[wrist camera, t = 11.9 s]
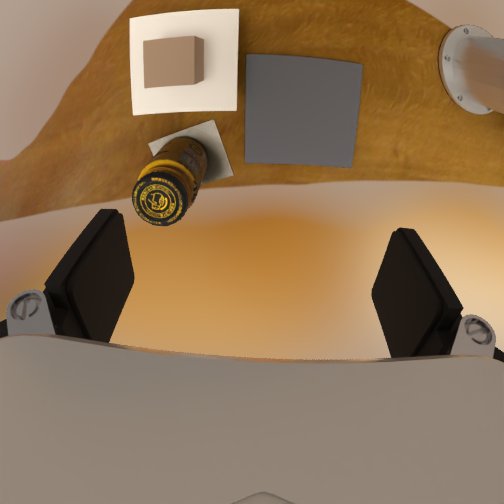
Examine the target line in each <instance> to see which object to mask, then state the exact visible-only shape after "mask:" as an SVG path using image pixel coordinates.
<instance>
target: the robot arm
mask: <svg viewBox="0 0 504 504" xmlns="http://www.w3.org/2000/svg"><path fill="white" fill-rule="evenodd" d="M439 70H440V75H441V79H442V82H443V85H444V87H445V89H446V91H447V93H448V94H449V96H450V97H451V98H452V100H453V101H454V102H455V103H456V104H457V105H458V106H460V107H461V108H462V109H464V110H466V111H468V112H471V113H474V114H480V115H483V114H488V113H490V112H492V111H497V112H499V113H502V114H504V39H499V38H494V37H493V36H492V35H491V34H489V33H488V32H487V31H485V30H484V29H482V28H480V27H477V26H474V25H460V26H457V27H455V28H453V29H451V30H450V31H449V32H448V33H447V34H446V36H445V37H444V39H443V41H442V44H441V47H440V51H439ZM133 284H134V271H133V266H132V262H131V257H130V252H129V247H128V242H127V236H126V230H125V225H124V219H123V215H122V214H121V213H119V212H118V210H116V209H101V210H100V211H99V212H98V213H97V214H96V215H95V217H94V218H93V219H92V220H91V221H90V223H89V224H88V225H87V226H86V228H85V229H84V230H83V231H82V233H81V234H80V235H79V237H78V238H77V239H76V241H75V242H74V243H73V244H72V246H71V247H70V249H69V250H68V251H67V252H66V254H65V255H64V257H63V258H62V259H61V261H60V262H59V263H58V265H57V266H56V268H55V269H54V270H53V272H52V273H51V275H50V276H49V278H48V279H47V281H46V282H45V286H46V288H45V290H44V291H43V293H42V292H41V291H39V290H35V289H34V290H26V291H23V292H21V293H20V294H18V295H17V296H15V297H14V298H13V299H12V300H11V302H10V303H9V304H8V307H7V310H6V318H7V319H5V320H3V321H1V322H0V504H504V352H502V351H501V350H499V349H498V348H496V347H495V342H496V336H495V333H494V330H493V329H492V327H491V326H490V325H489V323H488V322H486V321H485V320H484V319H482V318H481V317H478V316H476V315H466V316H465V317H462V315H461V314H460V313H461V311H462V310H463V307H462V304H461V303H460V301H459V299H458V297H457V296H456V294H455V292H454V291H453V289H452V287H451V285H450V284H449V282H448V281H447V279H446V277H445V276H444V274H443V272H442V271H441V269H440V268H439V266H438V264H437V263H436V261H435V259H434V258H433V256H432V255H431V253H430V252H429V250H428V249H427V247H426V246H425V244H424V243H423V241H422V240H421V238H420V237H419V235H418V234H417V233H416V231H415V230H414V229H408V228H398V229H397V230H396V231H394V232H393V233H392V235H391V238H390V241H389V244H388V247H387V250H386V252H385V255H384V258H383V261H382V264H381V267H380V269H379V272H378V275H377V277H376V280H375V283H374V285H373V288H372V300H373V303H374V306H375V309H376V311H377V314H378V317H379V320H380V323H381V326H382V329H383V332H384V336H385V339H386V342H387V345H388V348H389V351H390V355H391V358H379V359H349V360H348V359H347V360H303V359H266V358H246V357H229V356H217V355H204V354H192V353H183V352H174V351H164V350H156V349H148V348H141V347H133V346H127V345H120V344H113V343H109V341H110V338H111V336H112V333H113V331H114V329H115V326H116V324H117V321H118V319H119V316H120V314H121V312H122V309H123V307H124V304H125V302H126V300H127V297H128V295H129V293H130V291H131V288H132V286H133Z"/></svg>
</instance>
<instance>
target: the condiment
mask: <svg viewBox="0 0 504 504" xmlns="http://www.w3.org/2000/svg"><path fill="white" fill-rule="evenodd" d="M199 140H201V141H199ZM203 141H205V142H203ZM149 147H150V149H151V151H152V153H153V156H154V157H153V158H152V159H151V160H150V161H149V162H148V164H147V165H146V166H145V167H144V169H143V170H142V171H141V173H140V176H139V178H138V181H137V183H136V185H135V187H134V189H133V193H132V202H133V205H134V208H135V210H136V212H137V214H138V215H139V216H140V217H141V218H142V219H143V220H145V221H146V222H148V223H150V224H152V225H157V226H169V225H171V224H174V223H176V222H177V221H178V220H181V218H182V217H183V216H184V215H185V212H186V211H187V209H188V208H189V207H190V206H191V205H192V204H193V203H194V200H195V198H196V196H197V193H198V190H199V187H200V185H202V184H206V183H209V182H212V181H215V180H218V179H222V178H226V177H229V176H232V175H233V172H232V169H231V166H230V163H229V160H228V158H227V155H226V152H225V149H224V146H223V143H222V141H221V138H220V135H219V133H218V130H217V127H216V125H215V122H214V120H210V121H208V122H205V123H202V124H199V125H196V126H193V127H190V128H188V129H185V130H182V131H179V132H176V133H174V134H171V135H169V136H166V137H163V138H161V139H158V140H156V141H153V142H151V143H149Z"/></svg>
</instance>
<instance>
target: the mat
mask: <svg viewBox="0 0 504 504" xmlns="http://www.w3.org/2000/svg"><path fill="white" fill-rule="evenodd" d="M362 72H363V64H357V63H351V62H345V61H337V60H330V59H321V58H312V57H300V56H287V55H266V54H246V105H245V163H271V164H299V165H318V166H334V167H348V168H352V161H353V154H354V147H355V139H356V131H357V123H358V114H359V105H360V95H361V84H362Z"/></svg>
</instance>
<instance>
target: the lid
mask: <svg viewBox="0 0 504 504" xmlns="http://www.w3.org/2000/svg"><path fill="white" fill-rule="evenodd" d="M238 34H239V9H211V10H194V11H182V12H172V13H163V14H155V15H148V16H142V17H136V18H130V69H131V91H132V107H133V115H142V114H154V113H169V112H190V111H237V76H238Z"/></svg>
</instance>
